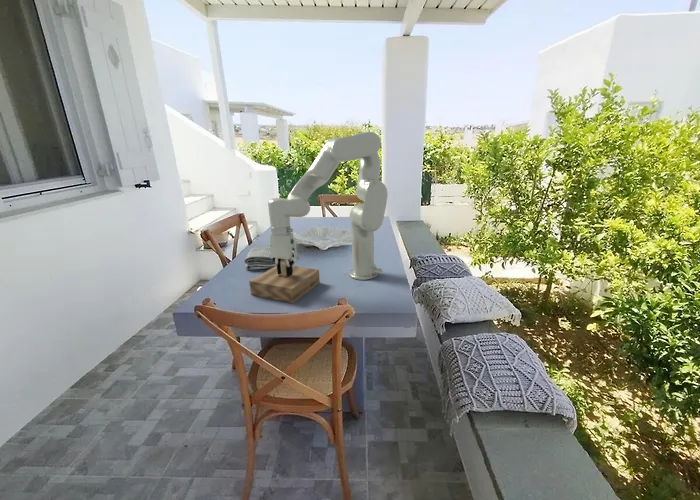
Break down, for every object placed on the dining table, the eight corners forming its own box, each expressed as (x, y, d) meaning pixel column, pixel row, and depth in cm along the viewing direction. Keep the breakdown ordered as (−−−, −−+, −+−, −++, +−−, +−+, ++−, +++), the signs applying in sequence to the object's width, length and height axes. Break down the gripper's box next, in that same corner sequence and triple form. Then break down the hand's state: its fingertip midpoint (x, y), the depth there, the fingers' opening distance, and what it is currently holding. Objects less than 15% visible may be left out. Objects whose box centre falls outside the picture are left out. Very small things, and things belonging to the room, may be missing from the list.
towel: (250, 261, 167) (248, 246, 165) (285, 258, 170) (284, 244, 167) (245, 271, 153) (243, 256, 151) (284, 268, 156) (283, 253, 153)
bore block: (319, 282, 138) (318, 269, 136) (293, 303, 120) (291, 288, 119) (281, 276, 146) (280, 263, 144) (251, 294, 129) (249, 280, 127)
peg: (291, 284, 133) (289, 259, 130) (287, 287, 131) (285, 262, 127) (285, 283, 135) (283, 258, 131) (280, 286, 132) (278, 261, 128)
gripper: (304, 229, 125) (307, 273, 131) (269, 226, 132) (274, 268, 138) (293, 234, 119) (297, 280, 125) (257, 231, 125) (262, 274, 131)
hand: (285, 273), depth 131 cm, fingers open, 3 cm apart
